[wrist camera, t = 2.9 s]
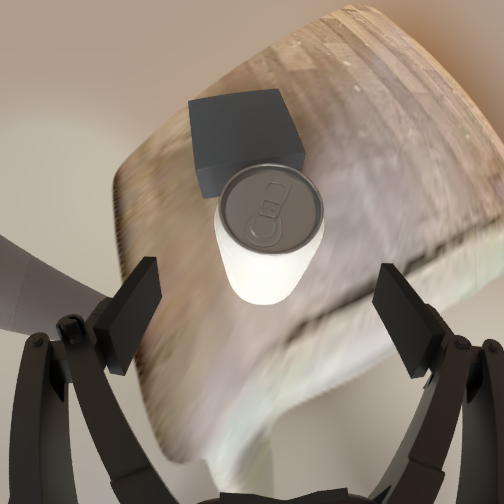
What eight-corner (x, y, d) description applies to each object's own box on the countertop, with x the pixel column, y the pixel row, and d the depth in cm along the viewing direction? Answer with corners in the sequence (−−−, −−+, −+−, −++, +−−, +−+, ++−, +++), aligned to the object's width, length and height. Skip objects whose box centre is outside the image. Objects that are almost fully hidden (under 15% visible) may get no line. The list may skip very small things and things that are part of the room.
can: (217, 293, 26) (191, 241, 14) (240, 230, 28) (234, 146, 17) (287, 315, 25) (316, 279, 14) (306, 249, 27) (340, 175, 16)
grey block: (203, 199, 29) (195, 170, 24) (194, 131, 33) (187, 100, 28) (298, 183, 30) (306, 153, 25) (275, 118, 33) (278, 88, 29)
